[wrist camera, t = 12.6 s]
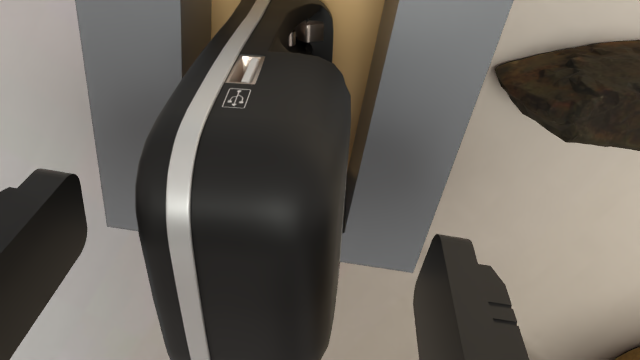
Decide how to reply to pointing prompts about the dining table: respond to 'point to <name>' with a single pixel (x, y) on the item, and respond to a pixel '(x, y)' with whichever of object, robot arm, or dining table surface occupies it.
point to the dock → (360, 78)
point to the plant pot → (630, 355)
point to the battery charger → (249, 190)
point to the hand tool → (581, 92)
